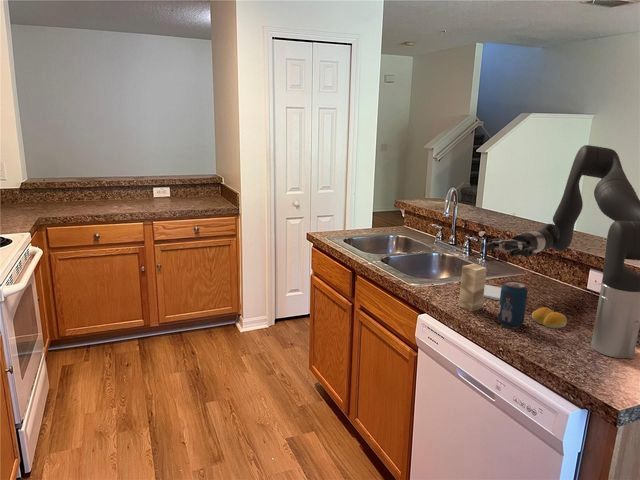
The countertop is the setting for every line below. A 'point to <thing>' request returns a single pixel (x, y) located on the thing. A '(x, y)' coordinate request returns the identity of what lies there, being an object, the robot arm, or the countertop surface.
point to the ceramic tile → (492, 292)
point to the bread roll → (549, 318)
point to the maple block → (472, 287)
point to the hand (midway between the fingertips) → (498, 250)
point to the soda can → (512, 304)
